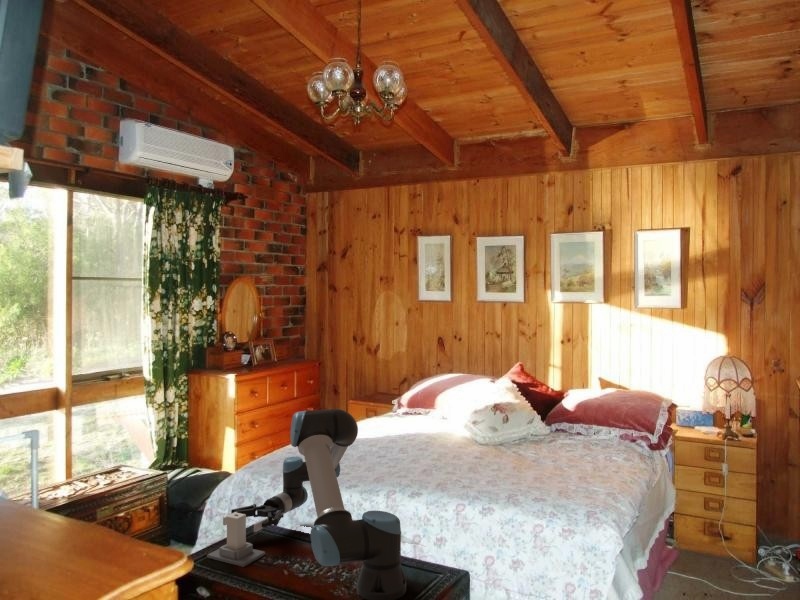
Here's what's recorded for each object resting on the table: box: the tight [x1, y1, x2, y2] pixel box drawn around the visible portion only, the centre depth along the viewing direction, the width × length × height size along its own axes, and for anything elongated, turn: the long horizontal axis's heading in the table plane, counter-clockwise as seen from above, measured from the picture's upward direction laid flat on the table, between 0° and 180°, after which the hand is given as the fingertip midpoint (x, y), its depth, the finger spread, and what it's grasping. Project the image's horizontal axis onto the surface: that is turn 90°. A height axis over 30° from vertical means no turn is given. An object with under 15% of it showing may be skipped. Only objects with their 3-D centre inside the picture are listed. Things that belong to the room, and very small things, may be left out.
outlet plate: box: [206, 541, 266, 568], centre depth 218 cm, size 16×11×4 cm
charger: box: [226, 512, 247, 551], centre depth 218 cm, size 4×4×13 cm
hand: (238, 524), depth 220 cm, fingers open, 13 cm apart
